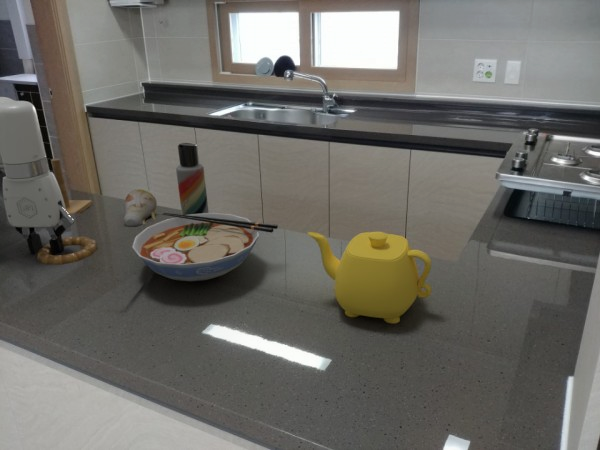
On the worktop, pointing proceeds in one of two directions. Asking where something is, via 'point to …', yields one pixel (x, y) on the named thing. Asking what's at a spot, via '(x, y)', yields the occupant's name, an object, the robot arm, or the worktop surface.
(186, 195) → the lotion bottle
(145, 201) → the white round figurine
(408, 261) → the teapot
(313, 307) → the worktop surface
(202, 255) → the ramen bowl
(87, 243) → the ring
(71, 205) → the peg stand
